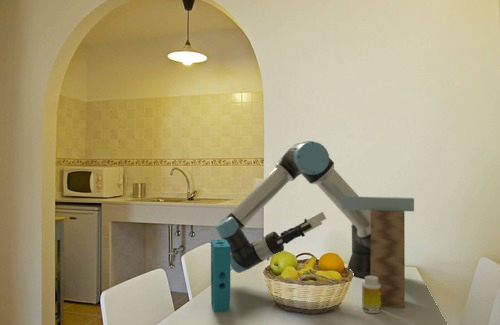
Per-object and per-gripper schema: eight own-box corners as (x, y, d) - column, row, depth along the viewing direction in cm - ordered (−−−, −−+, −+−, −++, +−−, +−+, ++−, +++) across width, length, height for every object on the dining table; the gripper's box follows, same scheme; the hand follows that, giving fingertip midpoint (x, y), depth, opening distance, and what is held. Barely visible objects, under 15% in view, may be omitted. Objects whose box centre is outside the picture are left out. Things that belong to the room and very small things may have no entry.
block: (230, 312, 120) (230, 246, 121) (214, 314, 120) (214, 247, 120) (225, 299, 132) (225, 239, 132) (210, 300, 131) (210, 239, 131)
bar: (342, 209, 132) (342, 197, 132) (343, 208, 136) (343, 196, 136) (414, 211, 126) (413, 198, 126) (412, 210, 130) (412, 197, 130)
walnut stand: (371, 305, 127) (370, 210, 127) (370, 297, 135) (370, 208, 135) (404, 308, 124) (404, 211, 125) (402, 299, 132) (402, 209, 132)
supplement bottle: (383, 314, 120) (383, 279, 120) (364, 314, 120) (364, 279, 120) (377, 307, 125) (377, 274, 125) (360, 307, 125) (359, 274, 125)
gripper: (282, 248, 152) (331, 222, 147) (266, 263, 128) (324, 233, 123) (272, 230, 153) (320, 204, 148) (255, 242, 129) (312, 211, 124)
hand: (322, 217), depth 136 cm, fingers open, 13 cm apart
